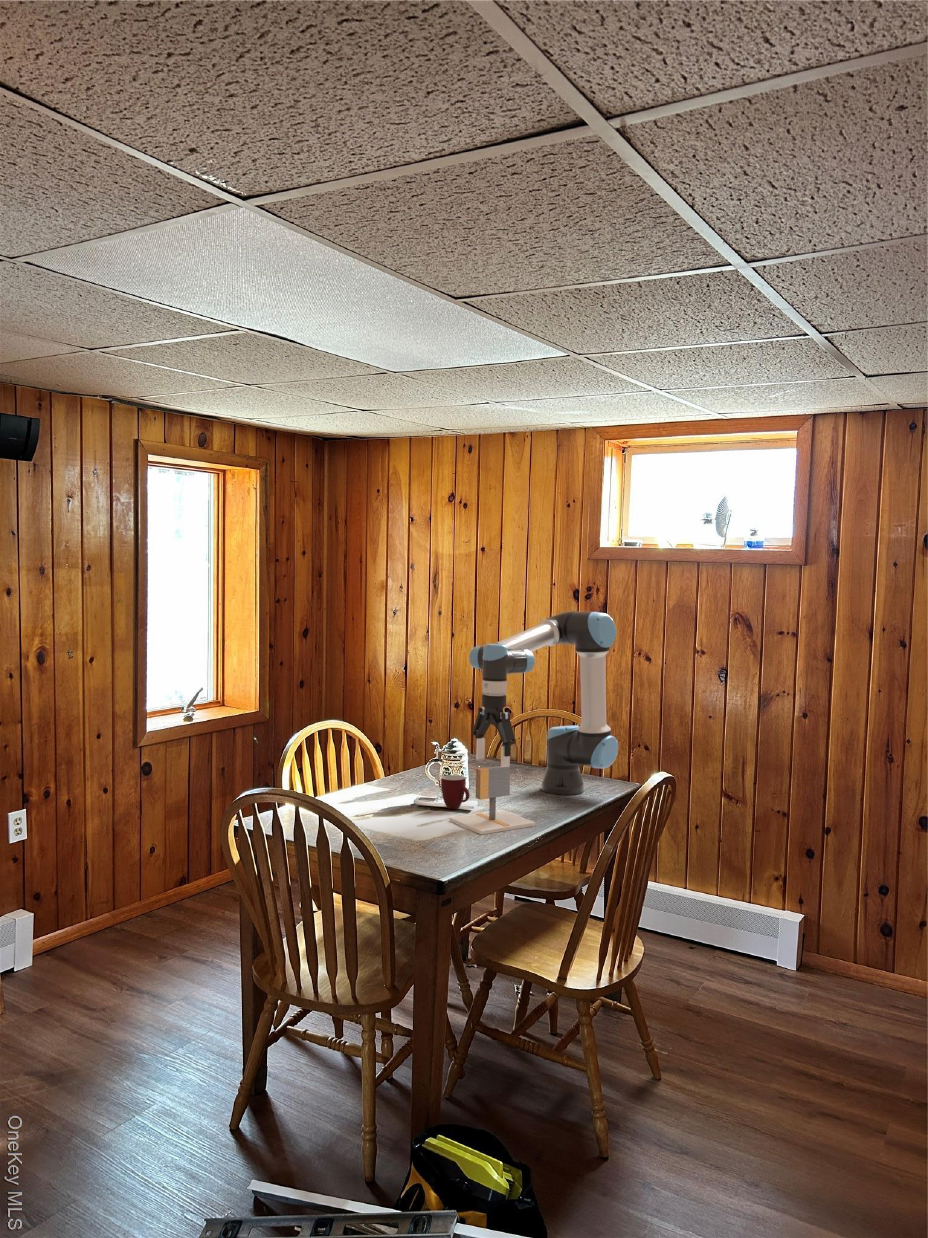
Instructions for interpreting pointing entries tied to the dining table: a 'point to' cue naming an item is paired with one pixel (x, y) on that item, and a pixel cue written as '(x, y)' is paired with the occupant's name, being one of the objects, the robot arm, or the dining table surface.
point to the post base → (492, 820)
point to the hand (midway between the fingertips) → (492, 763)
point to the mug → (454, 790)
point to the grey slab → (492, 782)
